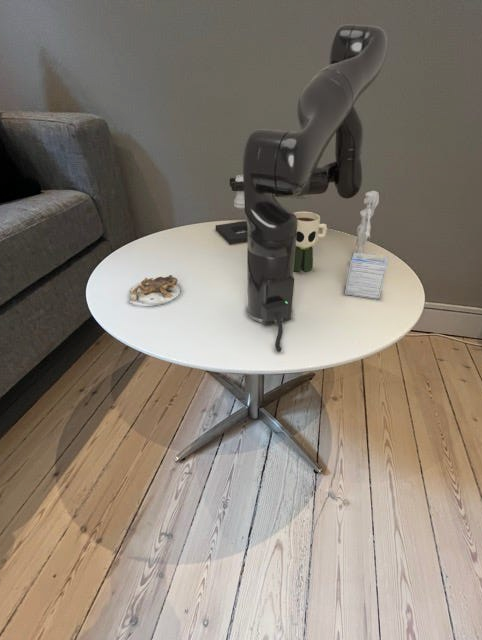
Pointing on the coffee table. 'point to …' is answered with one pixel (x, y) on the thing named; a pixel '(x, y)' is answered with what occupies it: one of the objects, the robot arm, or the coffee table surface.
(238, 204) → the rook chess piece
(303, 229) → the character mug
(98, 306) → the coffee table surface
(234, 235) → the socket pad
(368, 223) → the human figurine
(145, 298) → the frog figurine
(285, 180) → the robot arm
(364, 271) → the medicine box
